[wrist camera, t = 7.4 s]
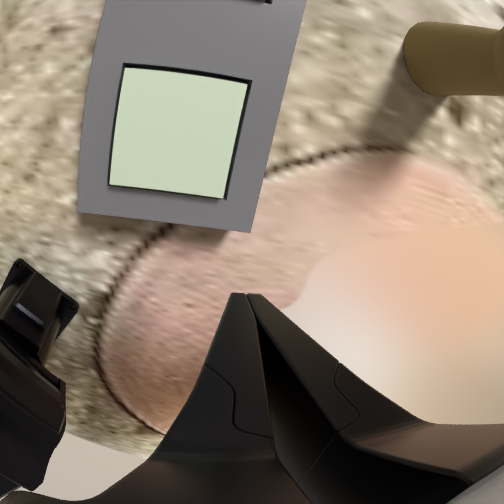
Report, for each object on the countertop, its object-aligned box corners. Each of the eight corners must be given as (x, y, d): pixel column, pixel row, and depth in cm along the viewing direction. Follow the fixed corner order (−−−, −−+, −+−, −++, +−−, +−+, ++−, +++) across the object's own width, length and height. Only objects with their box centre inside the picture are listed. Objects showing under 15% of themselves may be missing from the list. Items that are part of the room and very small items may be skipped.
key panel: (242, 210, 22) (250, 232, 19) (94, 192, 19) (77, 212, 16) (310, -71, 12) (329, -91, 9) (161, -96, 10) (157, -121, 7)
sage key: (219, 181, 20) (222, 198, 17) (122, 169, 18) (109, 184, 15) (239, 85, 17) (247, 84, 14) (136, 71, 15) (125, 67, 13)
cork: (401, 87, 19) (524, 110, 9) (403, 11, 16) (523, -4, 7) (458, 102, 20) (569, 135, 10) (461, 35, 17) (572, 42, 7)
